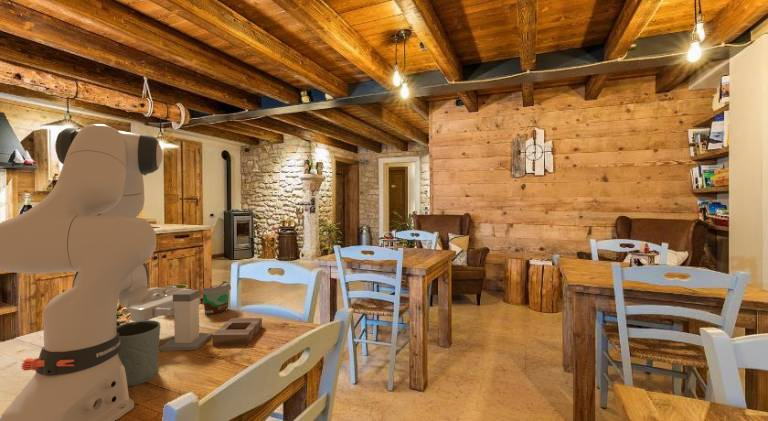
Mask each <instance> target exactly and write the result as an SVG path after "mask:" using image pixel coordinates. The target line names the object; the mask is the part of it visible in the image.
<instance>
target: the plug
mask: <svg viewBox="0 0 768 421" xmlns="http://www.w3.org/2000/svg"><path fill="white" fill-rule="evenodd" d="M199 299H200V289H191V290H181V291H179V292H177V293H175V294H173V301H174V314H173V317H174V322H173V323H174V324H173V325H174V336H175V343H191V342H193V341H194V340H195V339H197V338H198V337H199V333H200V310H199V309H200V305H199Z"/></svg>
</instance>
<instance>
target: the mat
mask: <svg viewBox="0 0 768 421" xmlns="http://www.w3.org/2000/svg"><path fill="white" fill-rule="evenodd" d="M212 335H213V332H199V337H198V338H197V339H195V340H194V341H193V342H191V343H175V335H174V336H173V337H172V338H170V339H169V340H168V341H166V342H164V344H162V345H161V346H159V351H160V352H161V351H164V352H165V351H197V350H199V348H201V347H202V346H203V345H204V344H206V342H207V341H209V340H210V339H212Z"/></svg>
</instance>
